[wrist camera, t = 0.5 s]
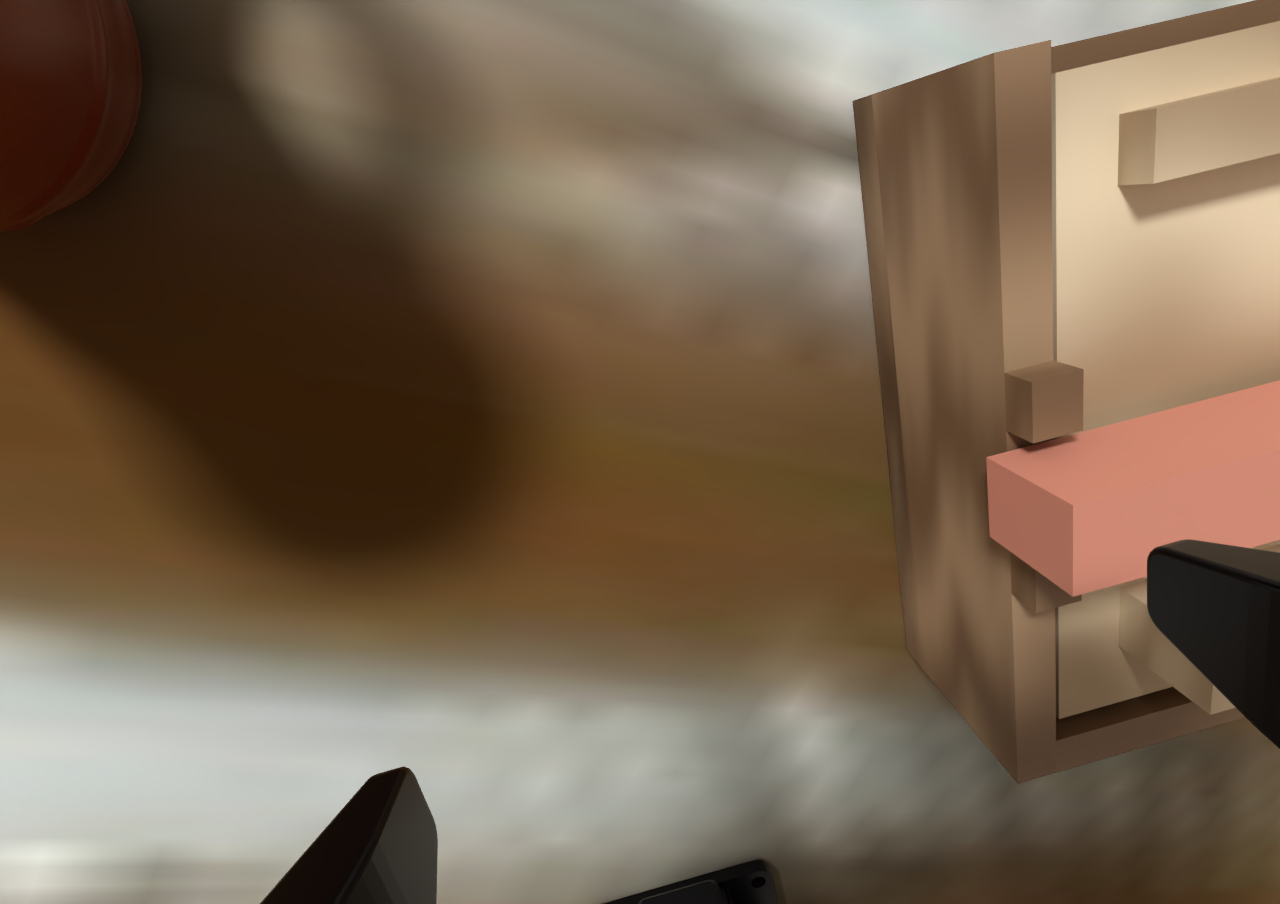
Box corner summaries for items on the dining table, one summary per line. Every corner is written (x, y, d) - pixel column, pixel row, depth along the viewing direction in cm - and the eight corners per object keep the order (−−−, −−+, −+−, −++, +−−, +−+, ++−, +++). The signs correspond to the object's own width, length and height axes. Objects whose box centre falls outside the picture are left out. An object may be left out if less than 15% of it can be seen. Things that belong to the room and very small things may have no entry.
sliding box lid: (1305, 621, 18) (1456, 703, 15) (1037, 697, 18) (1138, 797, 15) (1394, -6, 13) (1647, -68, 10) (1025, 80, 13) (1174, 40, 10)
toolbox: (1198, 569, 23) (1429, 696, 17) (906, 650, 22) (1040, 809, 16) (1240, 11, 17) (1608, -92, 11) (852, 101, 17) (1025, 42, 11)
